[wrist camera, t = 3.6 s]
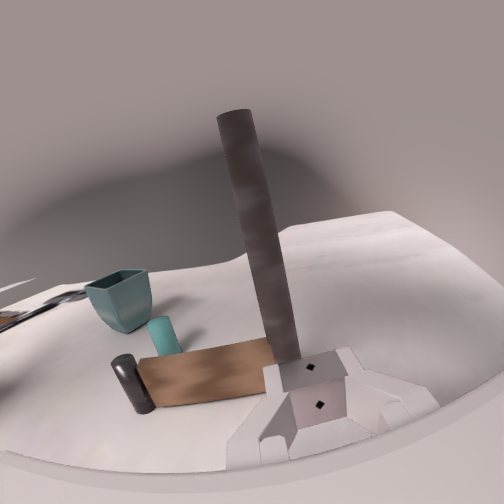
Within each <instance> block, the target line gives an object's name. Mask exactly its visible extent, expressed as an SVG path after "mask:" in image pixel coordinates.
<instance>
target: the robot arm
mask: <svg viewBox="0 0 504 504" xmlns="http://www.w3.org/2000/svg"><path fill="white" fill-rule="evenodd" d="M278 366H279V367H278ZM279 370H280V371H279ZM263 373H264V380H265V387H266V395H267V396H266V397H262V399H261V400H260V401H259V403H258V404H257V405H256V407H255V408H254V409H253V410H252V412H251V413H250V414H249V416H248V417H247V418H246V419H245V421H244V422H243V423H242V424H241V426H240V427H239V428H238V429H237V431H236V432H235V433H234V434H233V436H232V437H231V438H230V439H229V440H228V442H227V447H226V470H223V471H212V472H197V473H131V472H117V471H106V470H97V469H89V468H82V467H75V466H69V465H64V464H58V463H53V462H49V461H44V460H40V459H36V458H32V457H28V456H24V455H21V454H17V453H14V452H11V451H1V452H0V504H504V370H503V371H502V372H500V373H499V374H497V375H496V376H494V377H493V378H491V379H490V380H488V381H487V382H485V383H483V384H482V385H480V386H478V387H477V388H475V389H474V390H472V391H470V392H468V393H467V394H465V395H463V396H461V397H460V398H458V399H456V400H454V401H452V402H450V403H449V404H447V405H445V406H443V407H441V405H440V404H439V403H438V402H437V400H436V399H435V398H434V397H433V395H432V394H431V393H430V392H429V391H428V389H427V388H426V387H423V386H420V385H417V384H414V383H410V382H407V381H404V380H401V379H398V378H395V377H391V376H388V375H385V374H382V373H379V372H376V371H373V370H370V369H367V370H365V369H364V368H363V366H362V365H361V363H360V362H359V360H358V359H357V357H356V356H355V354H354V353H353V351H352V350H351V348H350V347H349V346H348V345H347V346H344V347H341V348H337V349H334V350H332V351H329V352H325V353H322V354H318V355H315V356H311V357H306V358H302V359H297V360H293V361H288V362H284V363H279V364H274V365H270V366H265V367H263ZM281 379H282V380H281ZM346 416H347V418H349V419H350V420H352V421H354V422H355V423H357V424H358V425H360V426H362V427H363V428H365V429H367V430H368V431H370V432H372V433H373V434H375V435H376V436H373V437H370V438H368V439H365V440H362V441H359V442H356V443H353V444H350V445H346V446H343V447H340V448H336V449H333V450H329V451H326V452H322V453H318V454H314V455H310V456H306V457H302V458H298V459H293V460H290V456H289V452H288V450H289V448H290V446H291V444H292V442H293V440H294V438H295V436H296V434H297V431H298V429H302V428H306V427H309V426H313V425H317V424H320V423H324V422H328V421H332V420H335V419H339V418H343V417H346Z"/></svg>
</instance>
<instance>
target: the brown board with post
mask: <svg viewBox="0 0 504 504" xmlns="http://www.w3.org/2000/svg"><path fill="white" fill-rule="evenodd" d="M217 122H218V127H219V131H220V136H221V140H222V145H223V149H224V154H225V158H226V162H227V167H228V171H229V176H230V180H231V185H232V189H233V194H234V198H235V202H236V207H237V211H238V215H239V220H240V224H241V229H242V233H243V238H244V242H245V246H246V251H247V255H248V260H249V264H250V268H251V273H252V277H253V281H254V286H255V290H256V294H257V299H258V303H259V307H260V312H261V316H262V320H263V325H264V329H265V333H266V337H264V338H260V339H255V340H250V341H246V342H241V343H236V344H230V345H225V346H220V347H214V348H209V349H203V350H197V351H191V352H185V353H179V354H172V355H165V356H158V357H151V358H143V359H140V361H139V363H138V365H137V367H136V368H137V370H138V372H139V374H140V376H141V378H142V380H143V382H144V384H145V386H146V388H147V390H148V392H149V394H150V396H151V398H152V400H153V402H154V404H155V406H156V407H161V406H173V405H183V404H192V403H200V402H208V401H215V400H221V399H228V398H234V397H240V396H246V395H251V394H256V393H261V392H266V387H265V380H264V373H263V367H265V366H270V365H274V364H279V363H284V362H288V361H293V360H297V359H301V354H300V349H299V343H298V337H297V332H296V326H295V321H294V315H293V310H292V304H291V299H290V293H289V288H288V283H287V278H286V272H285V267H284V262H283V257H282V252H281V247H280V242H279V237H278V232H277V227H276V222H275V218H274V213H273V208H272V204H271V199H270V194H269V189H268V185H267V180H266V176H265V171H264V166H263V162H262V157H261V153H260V148H259V144H258V140H257V135H256V131H255V127H254V122H253V118H252V114H251V110H249V109H240V110H234V111H230V112H226V113H223V114H221V115H219V116H218V117H217ZM278 367H279V366H278ZM279 371H280V370H279ZM281 380H282V379H281Z"/></svg>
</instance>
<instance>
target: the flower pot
mask: <svg viewBox="0 0 504 504" xmlns="http://www.w3.org/2000/svg"><path fill="white" fill-rule="evenodd" d="M84 289H85V291H86V293H87V295H88V297H89V299H90V301H91V303H92V305H93V307H94V309H95V310H96V312H97V314H98V315H99V316H100V317H101V319H102V320H103V321H104V322H105V323H106V324H107V325H109V326H110V327H111V328H112V329H114V330H117V331H120V332H123V333H126V334H127V333H130V332H131V331H133V330H135V329H136V328H138V327H139V326H141V325H143V324H144V323H146V322H147V321H148V320H149V317H150V313H151V308H152V295H151V288H150V283H149V277H148V271H147V269H121V270H118V271H116V272H114V273H112V274H110V275H107V276H105V277H103V278H101V279H98V280H96V281H94V282H92V283H90V284H87V285H85V286H84Z"/></svg>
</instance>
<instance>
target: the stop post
mask: <svg viewBox="0 0 504 504" xmlns="http://www.w3.org/2000/svg"><path fill="white" fill-rule="evenodd" d="M147 327H148V329H149V332H150V334H151V337H152V339H153V342H154V344H155V347H156V349H157V352H158V354H159V356H165V355H172V354H179V353H182V351H181V348H180V346H179V343H178V340H177V338H176V335H175V332H174V329H173V327H172V324H171V321H170V318H169V317H168V316H159V317H156V318H154V319H152V320H150V321H149V322H148V323H147Z"/></svg>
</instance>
